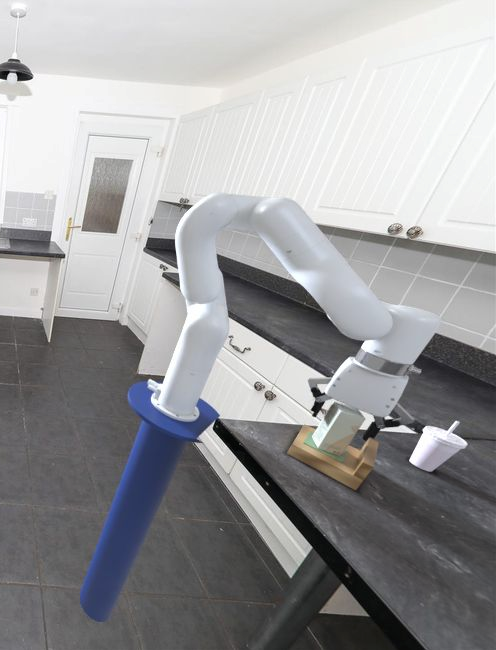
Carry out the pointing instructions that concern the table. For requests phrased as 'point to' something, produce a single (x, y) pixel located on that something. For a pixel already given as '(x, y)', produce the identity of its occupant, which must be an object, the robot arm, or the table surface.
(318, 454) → the wooden sharpening stone holder
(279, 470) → the table surface
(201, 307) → the robot arm
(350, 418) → the box
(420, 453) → the smoothie
